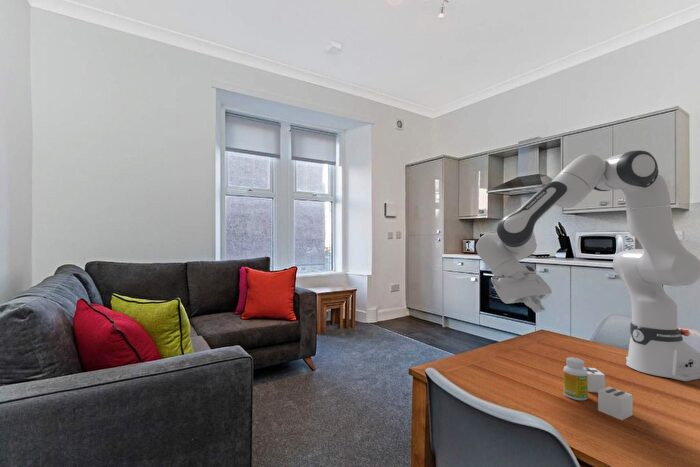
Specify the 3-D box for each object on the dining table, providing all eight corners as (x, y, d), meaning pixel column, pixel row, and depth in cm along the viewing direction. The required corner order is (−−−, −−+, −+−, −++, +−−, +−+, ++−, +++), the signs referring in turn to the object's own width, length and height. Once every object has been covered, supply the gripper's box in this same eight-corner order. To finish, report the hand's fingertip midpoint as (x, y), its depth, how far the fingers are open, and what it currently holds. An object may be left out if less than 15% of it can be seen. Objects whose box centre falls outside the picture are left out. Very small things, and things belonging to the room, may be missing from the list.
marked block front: (609, 406, 86) (608, 385, 86) (632, 415, 82) (632, 393, 82) (598, 410, 84) (598, 389, 84) (621, 420, 79) (621, 398, 79)
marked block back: (594, 385, 98) (594, 367, 98) (605, 393, 93) (604, 374, 93) (576, 384, 99) (575, 366, 99) (585, 391, 94) (585, 373, 94)
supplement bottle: (580, 402, 88) (579, 364, 88) (559, 394, 92) (558, 358, 93) (592, 398, 90) (591, 361, 90) (571, 390, 95) (570, 355, 95)
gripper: (494, 270, 102) (524, 308, 94) (537, 267, 112) (568, 301, 103) (482, 283, 106) (510, 321, 97) (525, 279, 116) (553, 313, 107)
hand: (540, 311), depth 100 cm, fingers closed
